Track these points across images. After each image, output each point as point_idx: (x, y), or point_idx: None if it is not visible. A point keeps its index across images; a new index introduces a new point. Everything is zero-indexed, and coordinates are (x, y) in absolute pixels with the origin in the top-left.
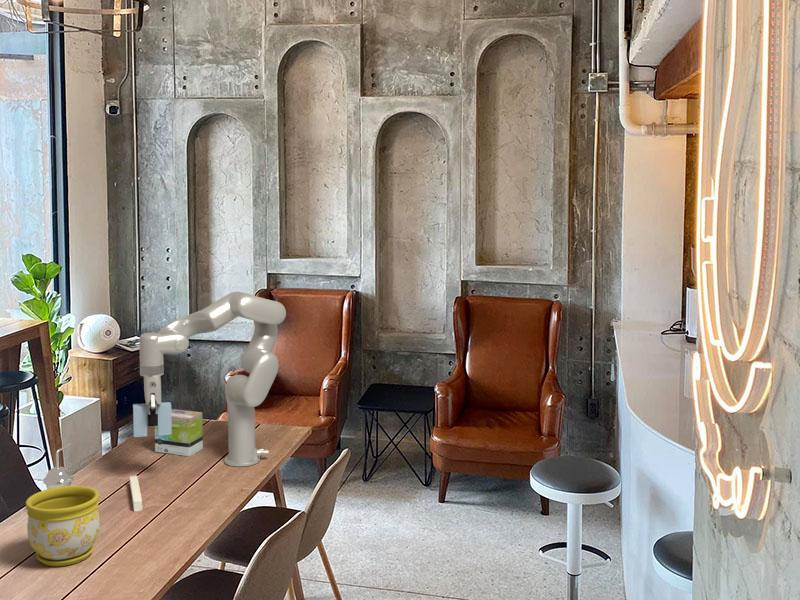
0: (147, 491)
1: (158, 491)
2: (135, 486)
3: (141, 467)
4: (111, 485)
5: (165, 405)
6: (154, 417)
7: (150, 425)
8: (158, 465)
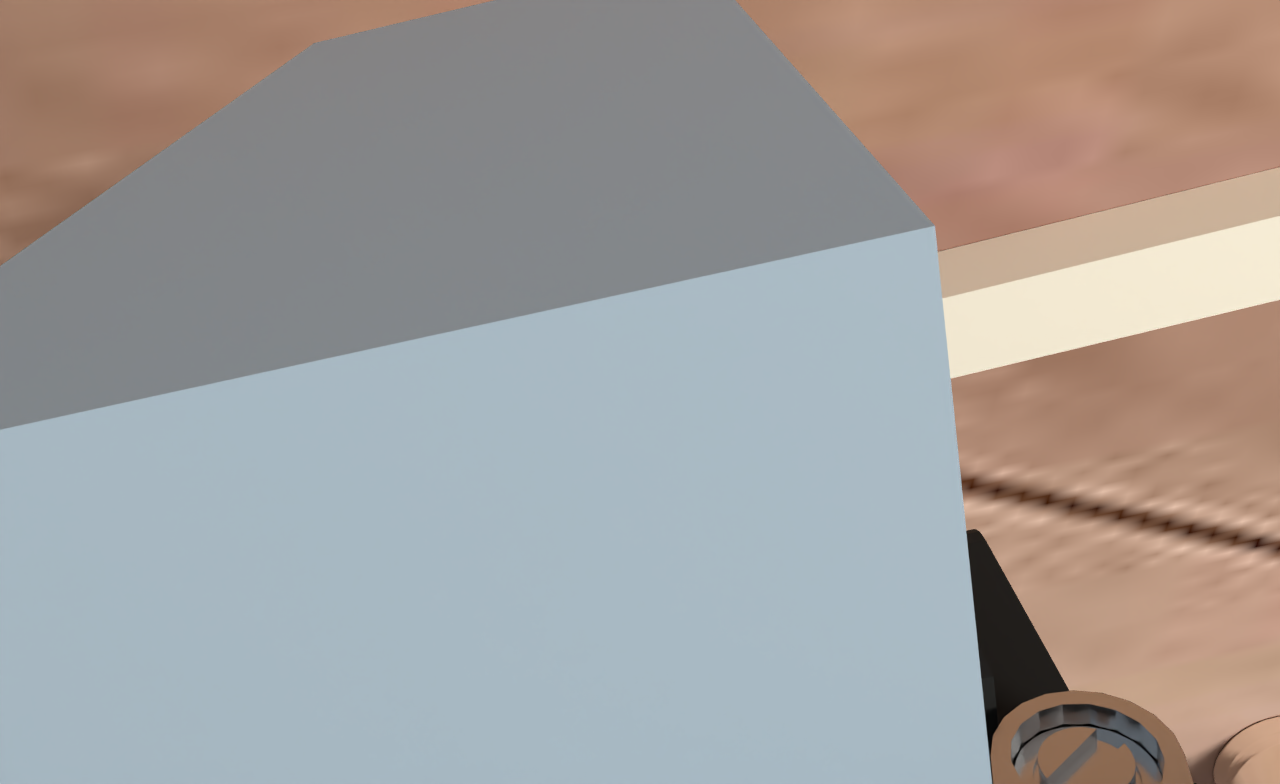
0: (977, 150)
1: (1009, 15)
2: (1126, 293)
3: None
4: None
5: (929, 668)
6: (1058, 689)
7: None
8: (20, 192)
